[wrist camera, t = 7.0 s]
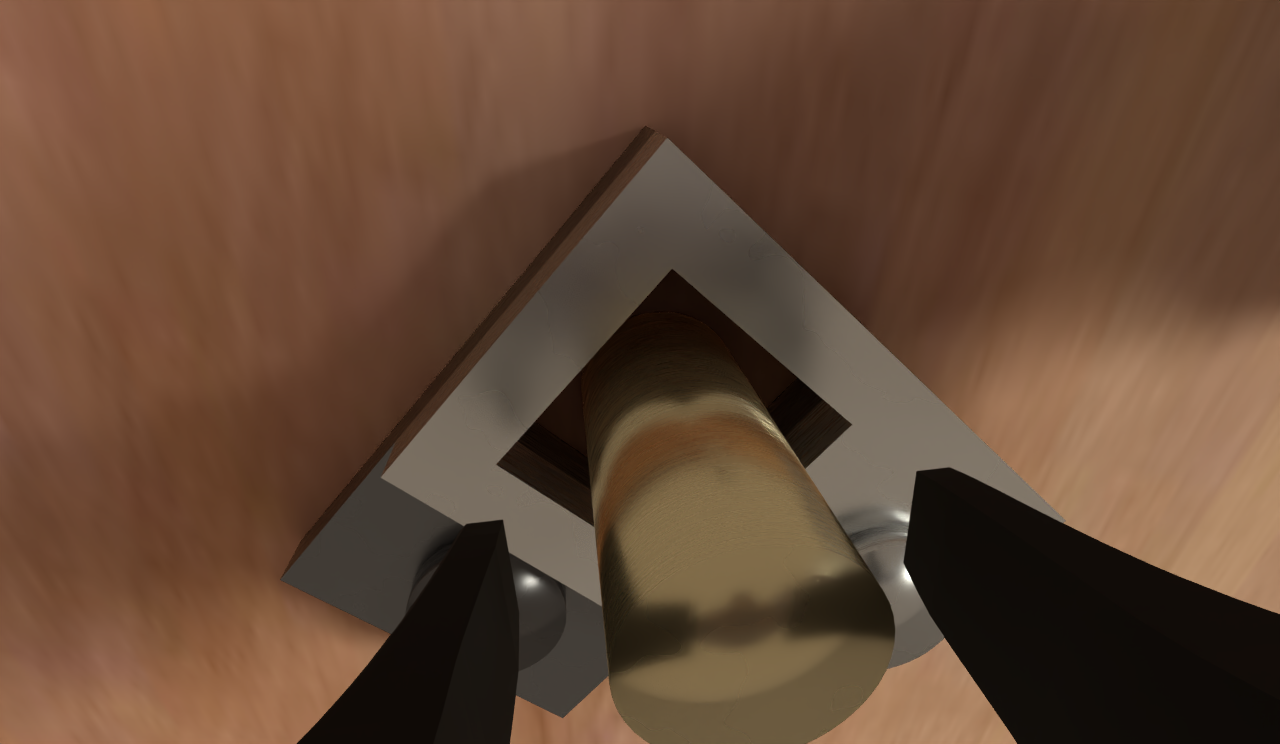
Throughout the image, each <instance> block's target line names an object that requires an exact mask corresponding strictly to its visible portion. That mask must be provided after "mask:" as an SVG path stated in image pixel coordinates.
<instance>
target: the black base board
mask: <svg viewBox="0 0 1280 744" xmlns="http://www.w3.org/2000/svg"><path fill="white" fill-rule="evenodd" d="M654 132H655V131H654V130H652V129H651V128H649V127H647V126H645V127H644V128H643V130H642V131H641V132H640V133H639V134H638V136H637V137H636V138H635V139H634V140H633V142H632V143H631V144H630V145H629V146H628V148H627V149H626V150H625V151H624V152H623V154H622V155H621V156H620V157H619V159H618V160H617V161H616V162H615V163H614V165H613V166H612V167H611V168H610V169H609V171H608V172H607V173H606V174H605V175H604V177H603V178H602V179H601V180H600V181H599V183H598V184H597V185H596V186H595V187H594V189H593V190H592V191H591V192H590V193H589V195H588V196H587V197H586V198H585V199H584V201H583V202H582V203H581V204H580V205H579V207H578V208H577V209H576V210H575V212H574V213H573V214H572V215H571V216H570V218H569V219H568V220H567V221H566V222H565V224H564V225H563V226H562V227H561V228H560V230H559V231H558V232H557V233H556V234H555V236H554V237H553V238H552V239H551V240H550V242H549V243H548V244H547V245H546V246H545V248H544V249H543V250H542V251H541V252H540V254H539V255H538V256H537V257H536V258H535V260H534V261H533V262H532V263H531V265H530V266H529V267H528V268H527V269H526V271H525V272H524V273H523V274H522V275H521V277H520V278H519V279H518V280H517V281H516V283H515V284H514V285H513V286H512V287H511V289H510V290H509V291H508V292H507V293H506V295H505V296H504V297H503V298H502V299H501V301H500V302H499V303H498V304H497V305H496V307H495V308H494V309H493V310H492V311H491V313H490V314H489V315H488V316H487V318H486V319H485V320H484V321H483V322H482V324H481V325H480V326H479V327H478V328H477V330H476V331H475V332H474V333H473V334H472V336H471V337H470V338H469V339H468V340H467V342H466V343H465V344H464V345H463V346H462V348H461V349H460V350H459V351H458V352H457V354H456V355H455V356H454V357H453V358H452V360H451V361H450V362H449V363H448V364H447V366H446V367H445V368H444V369H443V371H442V372H441V373H440V374H439V375H438V377H437V378H436V379H435V380H434V381H433V383H432V384H431V385H430V386H429V387H428V389H427V390H426V391H425V392H424V393H423V395H422V396H421V397H420V398H419V399H418V401H417V402H416V403H415V404H414V405H413V407H412V408H411V409H410V410H409V411H408V413H407V414H406V415H405V416H404V417H403V419H402V420H401V421H400V422H399V424H398V425H397V426H396V427H395V428H394V430H393V431H392V432H391V433H390V434H389V436H388V437H387V438H386V439H385V440H384V442H383V443H382V444H381V445H380V446H379V448H378V449H377V450H376V451H375V452H374V454H373V455H372V456H371V457H370V458H369V460H368V461H367V462H366V463H365V464H364V466H363V467H362V468H361V469H360V470H359V472H358V473H357V474H356V475H355V477H354V478H353V479H352V480H351V481H350V483H349V484H348V485H347V486H346V487H345V489H344V490H343V491H342V492H341V493H340V495H339V496H338V497H337V498H336V499H335V501H334V502H333V503H332V504H331V505H330V507H329V508H328V509H327V510H326V511H325V513H324V514H323V515H322V516H321V517H320V519H319V520H318V521H317V522H316V523H315V525H314V526H313V527H312V528H311V530H310V531H309V532H308V533H307V534H306V536H305V537H304V538H303V539H302V540H301V542H300V544H299V545H298V547H297V549H296V551H295V553H294V555H293V557H292V559H291V560H290V562H289V564H288V566H287V568H286V570H285V572H284V574H283V575H282V577H281V579H280V580H281V581H283V582H286V583H288V584H290V585H292V586H294V587H296V588H298V589H300V590H302V591H304V592H306V593H308V594H310V595H312V596H314V597H316V598H318V599H320V600H322V601H324V602H326V603H328V604H331V605H333V606H335V607H337V608H339V609H341V610H343V611H345V612H347V613H349V614H351V615H353V616H355V617H357V618H359V619H361V620H363V621H365V622H367V623H369V624H371V625H373V626H375V627H378V628H380V629H382V630H384V631H386V632H388V633H390V634H392V632H393V631H394V630H395V629H396V627H397V626H398V625H399V623H400V622H401V620H402V619H403V618H404V616H405V615H406V613H407V612H408V611H409V609H410V608H411V606H412V605H413V603H414V602H415V600H416V599H417V598H418V596H419V595H420V593H421V592H422V590H423V589H424V587H425V586H426V585H427V583H428V582H429V580H430V578H431V577H432V575H433V574H434V572H435V571H436V569H437V568H438V566H439V565H440V563H441V561H442V560H443V558H444V557H445V555H446V553H447V552H448V550H449V548H450V547H451V545H452V543H453V542H454V540H455V538H456V537H457V535H458V533H459V532H460V530H461V529H462V528H463V527H464V526H463V525H461V524H459V523H458V522H456V521H454V520H453V519H451V518H449V517H447V516H446V515H444V514H442V513H441V512H439V511H437V510H435V509H434V508H432V507H430V506H429V505H427V504H425V503H423V502H422V501H420V500H418V499H417V498H415V497H413V496H411V495H410V494H408V493H406V492H405V491H403V490H401V489H399V488H398V487H396V486H394V485H392V484H391V483H389V482H387V481H386V480H384V479H382V478H381V475H382V473H383V471H384V468H385V466H386V464H387V461H388V459H389V456H390V454H391V452H392V449H393V447H394V445H395V442H396V441H397V440H398V438H399V437H400V436H401V435H402V434H403V432H404V431H405V430H406V429H407V428H408V426H409V425H410V424H411V423H412V422H413V420H414V419H415V418H416V417H417V416H418V414H419V413H420V412H421V411H422V410H423V408H424V407H425V406H426V405H427V404H428V402H429V401H430V400H431V399H432V398H433V397H434V395H435V394H436V393H437V392H438V391H439V389H440V388H441V387H442V386H443V385H444V383H445V382H446V381H447V380H448V379H449V377H450V376H451V375H452V374H453V373H454V371H455V370H456V369H457V368H458V367H459V365H460V364H461V363H462V362H463V361H464V359H465V358H466V357H467V356H468V355H469V353H470V352H471V351H472V350H473V349H474V348H475V346H476V345H477V344H478V343H479V342H480V340H481V339H482V338H483V337H484V336H485V334H486V333H487V332H488V331H489V330H490V328H491V327H492V326H493V325H494V324H495V322H496V321H497V320H498V319H499V318H500V316H501V315H502V314H503V313H504V312H505V310H506V309H507V308H508V307H509V306H510V304H511V303H512V302H513V301H514V300H515V298H516V297H517V296H518V295H519V294H520V293H521V291H522V290H523V289H524V288H525V287H526V285H527V284H528V283H529V282H530V281H531V279H532V278H533V277H534V276H535V275H536V273H537V272H538V271H539V270H540V269H541V267H542V266H543V265H544V264H545V263H546V261H547V260H548V259H549V258H550V257H551V255H552V254H553V253H554V252H555V251H556V249H557V248H558V247H559V246H560V245H561V244H562V242H563V241H564V240H565V239H566V238H567V236H568V235H569V234H570V233H571V232H572V230H573V229H574V228H575V227H576V226H577V224H578V223H579V222H580V221H581V220H582V218H583V217H584V216H585V215H586V214H587V212H588V211H589V210H590V209H591V208H592V206H593V205H594V204H595V203H596V202H597V200H598V199H599V198H600V197H601V196H602V194H603V193H604V192H605V191H606V190H607V189H608V187H609V186H610V185H611V184H612V183H613V181H614V180H615V179H616V178H617V177H618V175H619V174H620V173H621V172H622V171H623V169H624V168H625V167H626V166H627V165H628V163H629V162H630V161H631V160H632V159H633V157H634V156H635V155H636V154H637V153H638V151H639V150H640V149H641V148H642V147H643V145H644V144H645V143H646V142H647V141H648V139H649V138H650V137H651V136H652V135H653V134H654ZM822 400H823V399H822V398H821V397H820V396H819V395H818V394H816V393H815V392H814V391H813V390H812V389H811V388H809V387H808V386H807V385H806V384H805V383H804V382H803V381H801V380H800V379H799V378H797V379H796V380H795V381H794V382H793V383H792V384H791V385H790V386H789V387H788V388H787V389H786V390H785V391H784V392H783V393H782V394H781V395H780V396H779V397H778V398H777V399H776V400H775V401H774V402H773V403H772V404H771V405H770V406H769V407H768V408H767V411H768V412H769V414H770V415H771V417H772V418H773V420H774V422H775V423H776V425H777V426H778V428H779V429H780V431H781V432H782V434H783V436H785V435H786V434H788V433H789V432H790V431H791V430H792V429H793V428H794V427H795V426H796V425H797V424H798V423H799V422H800V421H801V420H802V419H803V418H804V417H805V416H806V415H807V414H808V413H809V412H810V411H811V410H812V409H813V408H814V407H815V406H816V405H817V404H819V403H820V402H821V401H822ZM518 442H519V443H521V444H522V445H524V446H525V447H527V448H528V449H530V450H531V451H533V452H534V453H536V454H537V455H539V456H540V457H542V458H543V459H545V460H546V461H548V462H549V463H551V464H552V465H554V466H555V467H557V468H559V469H560V470H562V471H563V472H565V473H566V474H568V475H569V476H571V477H572V478H574V479H575V480H577V481H578V482H580V483H581V484H583V485H584V486H586V487H587V488H589V489H590V490H591V486H590V475H589V465H588V458H587V457H585V456H584V455H582V454H581V453H580V452H578V451H577V450H575V449H574V448H572V447H571V446H569V445H568V444H566V443H565V442H563V441H562V440H560V439H559V438H558V437H556V436H555V435H553V434H552V433H550V432H549V431H547V430H546V429H544V428H543V427H541V426H540V425H538V424H537V423H535V422H534V423H533V424H532V425H531V426H530V427H529V428H528V430H527V431H526V432H525V433H524V434H523V435H522V436H521V437H520V438H519V440H518ZM509 556H510V562H511V568H512V573H513V579H514V585H515V591H516V596H517V602H518V608H519V672H518V681H517V689H516V695H517V696H519V697H521V698H523V699H525V700H527V701H529V702H531V703H533V704H535V705H537V706H539V707H541V708H543V709H545V710H547V711H549V712H551V713H553V714H555V715H558V716H560V717H562V718H563V717H564V716H566V715H567V714H568V713H569V712H570V711H571V710H572V709H573V708H574V707H575V706H576V705H577V704H578V703H580V702H581V701H582V700H583V699H584V698H585V697H586V696H587V695H588V694H589V693H590V692H591V691H592V690H593V689H595V688H596V687H597V686H598V685H599V684H600V683H601V682H602V681H603V680H604V679H605V678H606V677H607V676H609V674H608V664H607V654H606V643H605V633H604V622H603V612H602V606H600V605H599V604H597V603H595V602H593V601H592V600H590V599H588V598H587V597H585V596H583V595H581V594H580V593H578V592H576V591H575V590H573V589H571V588H569V587H568V586H566V585H564V584H563V583H561V582H559V581H557V580H556V579H554V578H552V577H550V576H549V575H547V574H545V573H544V572H542V571H540V570H538V569H537V568H535V567H533V566H532V565H530V564H528V563H526V562H525V561H523V560H521V559H520V558H518V557H516V556H514V555H513V554H511V553H509Z"/></svg>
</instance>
